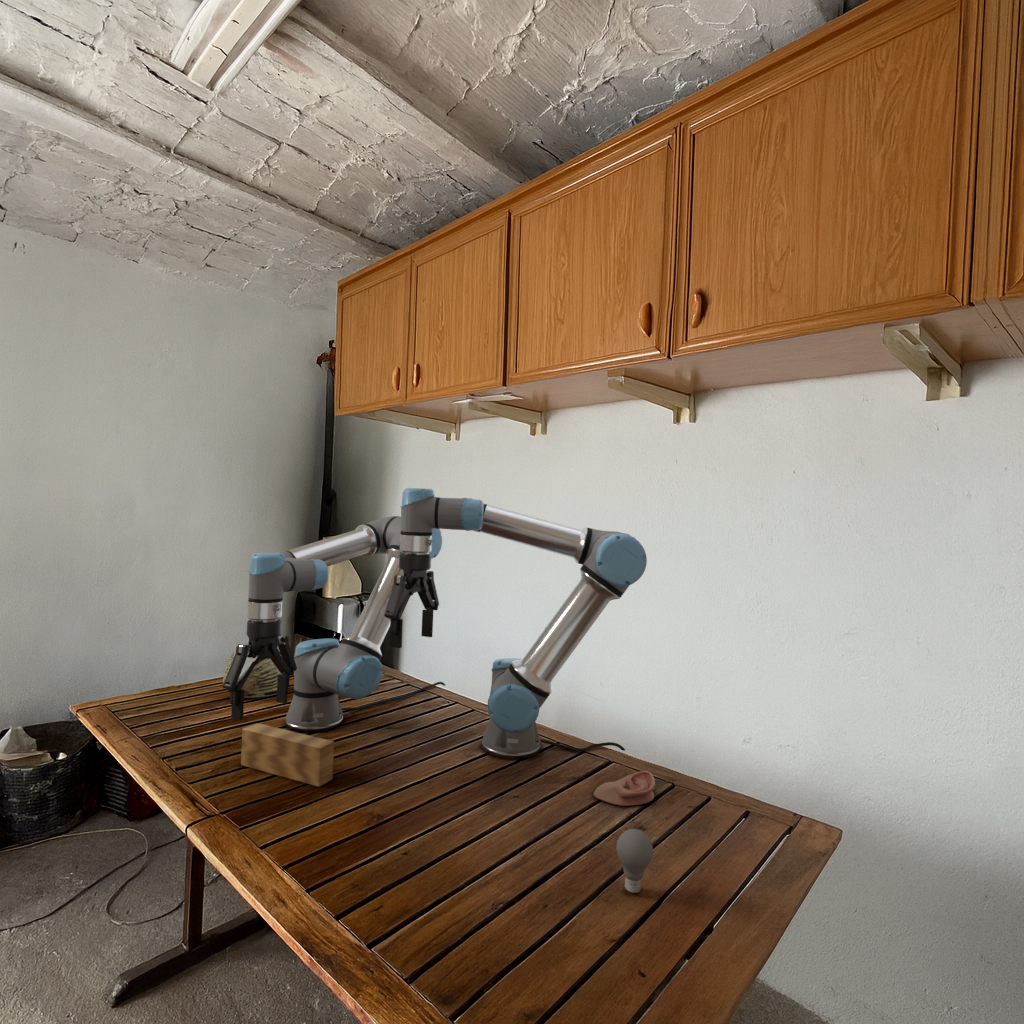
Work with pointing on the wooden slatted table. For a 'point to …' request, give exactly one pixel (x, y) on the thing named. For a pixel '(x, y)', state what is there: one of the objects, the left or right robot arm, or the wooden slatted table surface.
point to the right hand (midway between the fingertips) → (411, 641)
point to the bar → (287, 754)
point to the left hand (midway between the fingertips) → (260, 710)
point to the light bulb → (634, 857)
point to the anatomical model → (628, 790)
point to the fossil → (258, 679)
